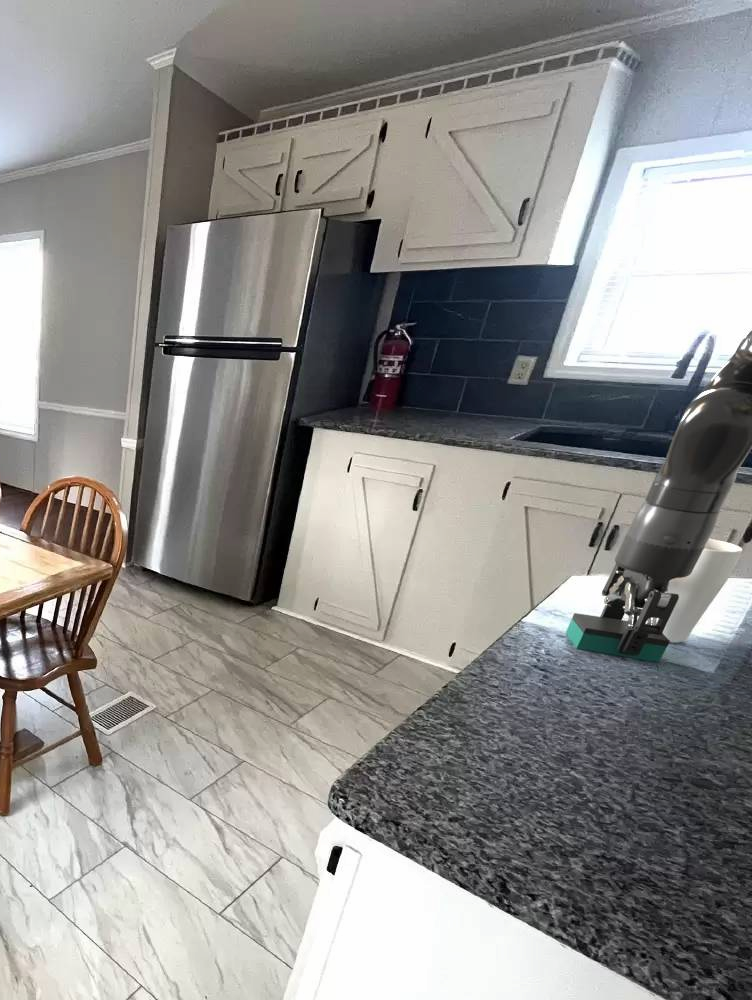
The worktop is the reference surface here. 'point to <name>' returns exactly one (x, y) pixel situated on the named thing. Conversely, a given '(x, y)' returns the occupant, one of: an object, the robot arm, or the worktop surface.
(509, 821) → the worktop surface
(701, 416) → the robot arm
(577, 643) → the sponge
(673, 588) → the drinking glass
